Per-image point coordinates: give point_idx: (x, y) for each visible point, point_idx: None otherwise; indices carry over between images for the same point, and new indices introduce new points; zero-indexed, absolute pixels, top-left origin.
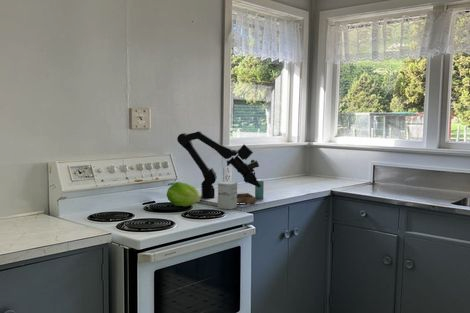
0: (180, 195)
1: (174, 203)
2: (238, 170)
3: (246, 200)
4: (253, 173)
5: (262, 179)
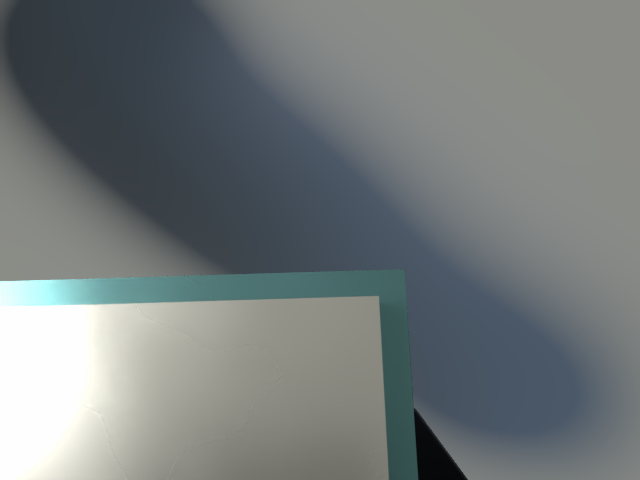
0: None
1: None
2: None
3: None
4: None
5: (51, 324)
